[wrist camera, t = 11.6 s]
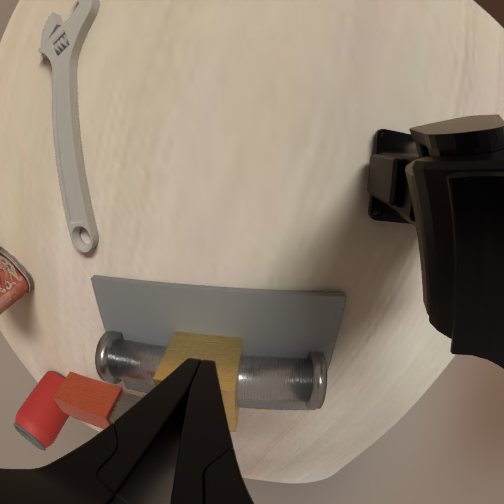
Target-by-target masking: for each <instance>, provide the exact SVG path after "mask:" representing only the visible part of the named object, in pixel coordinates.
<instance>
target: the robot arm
mask: <svg viewBox="0 0 504 504" xmlns="http://www.w3.org/2000/svg"><path fill="white" fill-rule="evenodd" d="M410 132H411V135H410V134H405V133H401V132H396V131H391V130H386V129H379V130H377V132H376V134H375V148H374V154H373V155H372V156H371V158H370V170H369V181H368V192H369V193H370V202H369V210H368V214H369V216H370V217H371V218H372V219H373V220H379V221H390V222H400V223H409V224H413V225H414V226H416V229H417V236H418V243H419V252H420V261H421V271H422V285H423V302H424V305H425V308H426V311H427V314H428V315H429V321H430V323H431V324H432V325H433V326H434V327H435V328H436V330H438V331H439V332H441V333H442V334H444V335H446V336H447V337H449V338H451V339H452V342H451V353H452V354H462V355H474V356H477V357H480V358H484V359H488V360H490V361H492V362H494V363H495V364H497V365H499V366H500V367H502V368H503V369H504V121H503V119H502V118H501V117H500V116H499V115H478V116H467V117H461V118H456V119H451V120H446V121H441V122H436V123H431V124H427V125H422V126H418V127H414V128H410ZM381 133H384V135H385V138H384V139H382V138H381V136H380V135H381ZM375 210H378V213H377V215H373V212H374V211H375ZM0 504H254V502H253V500H252V498H251V496H250V494H249V493H248V490H247V488H246V485H245V483H244V480H243V478H242V476H241V472H240V469H239V466H238V463H237V459H236V455H235V451H234V449H233V443H232V439H231V435H230V430H229V426H228V422H227V417H226V413H225V408H224V403H223V398H222V394H221V389H220V384H219V379H218V373H217V368H216V363H215V361H213V360H205V359H203V360H201V359H196V358H188V359H186V360H185V361H184V362H183V363H182V364H181V365H179V366H178V367H177V368H176V369H175V370H174V371H173V372H172V373H170V374H169V375H168V376H167V377H166V378H165V379H164V380H162V381H161V382H160V383H159V384H158V385H157V386H155V387H154V388H153V389H152V390H151V391H150V392H148V393H147V394H146V395H145V396H144V397H143V398H141V399H140V400H139V401H138V402H137V403H136V404H134V405H133V406H132V407H131V408H130V409H128V410H127V411H126V412H125V413H124V414H122V415H121V416H120V417H119V418H118V419H116V420H115V421H114V423H111V424H110V425H109V426H108V427H106V428H105V429H104V430H103V431H101V432H100V433H99V434H97V435H96V436H95V437H93V438H92V439H91V440H89V441H88V442H86V443H84V444H83V445H81V446H80V447H78V448H76V449H75V450H73V451H71V452H70V453H68V454H66V455H65V456H63V457H61V458H59V459H57V460H56V461H54V462H52V463H50V464H48V465H46V466H43V467H40V468H35V469H0Z"/></svg>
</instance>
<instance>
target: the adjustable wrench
mask: <svg viewBox="0 0 504 504" xmlns="http://www.w3.org/2000/svg"><path fill="white" fill-rule="evenodd" d="M78 2H79V4H78V6H77V7H76V9H75V10H74V12H73V14H72V15H71V17H70V18H69V19H68V20H67V21H66V22H65V23H64V24H63V22H62V19H61V16H60V15H58V14H56V13H52V14H51V15H50V16H49V18H48V19H47V21H46V24H45V26H44V29H43V32H42V37H41V48H40V49H39V50H38V52H39V53H43V54H42V57H43V58H44V59H47V58H48V59H49V60H50V62H51V66H52V117H53V134H54V146H55V155H56V164H57V171H58V178H59V184H60V190H61V196H62V201H63V206H64V211H65V216H66V220H67V225H68V229H69V233H70V237H71V240H72V243H73V245H74V246H75V248H76V249H77V250H78V251H80V252H88V251H90V250H91V249H93V248H94V247H95V246H96V245H97V243H98V241H99V234H98V230H97V226H96V221H95V217H94V213H93V208H92V203H91V198H90V193H89V188H88V183H87V177H86V171H85V165H84V158H83V150H82V142H81V133H80V122H79V109H78V87H77V66H78V59H79V55H80V51H81V48H82V45H83V43H84V40H85V38H86V35H87V33H88V31H89V29H90V27H91V25H92V23H93V21H94V19H95V17H96V15H97V13H98V10H99V6H100V1H99V0H78ZM81 227H84V228H85V229H86V230H87V231H88V233H89V235H90V238H91V243H90V244H86V243H85V242H84V241H83V240H82V239H81V236H80V228H81Z"/></svg>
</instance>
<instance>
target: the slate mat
mask: <svg viewBox="0 0 504 504" xmlns="http://www.w3.org/2000/svg"><path fill="white" fill-rule="evenodd" d="M91 281H92V285H93V289H94V293H95V297H96V301H97V304H98V308H99V311H100V315H101V318H102V321H103V325H104V328H105V331H106V332H107V331H116V332H121V333H122V334H123V338H124V339H125V340H130V341H136V342H141V343H147V344H153V345H159V346H165V347H168V345H169V343H170V341H171V339H172V337H173V335H174V333H175V331H181V332H190V333H199V334H208V335H218V336H230V337H243V355H244V356H259V357H279V358H309V355H310V352H323V353H324V355H325V358H326V364H327V371H328V368H329V364H330V361H331V357H332V354H333V350H334V346H335V342H336V338H337V334H338V330H339V326H340V322H341V318H342V313H343V309H344V304H345V300H346V295H345V293H335V292H305V291H281V290H262V289H244V288H228V287H214V286H200V285H188V284H176V283H164V282H153V281H143V280H133V279H123V278H114V277H105V276H96V275H94V276H93V277H92V278H91ZM124 383H125V385H126V387H127V388H129V389H132V390H137V391H141V392H145V393H148V392H150V391H151V390H152V389H153V388H154V387H151V386H146V385H142V384H138V383H133V382H129V381H125V380H124ZM240 407H241V408H255V409H274V410H316V409H307V408H306V405H305V402H268V401H251V400H240Z"/></svg>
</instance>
